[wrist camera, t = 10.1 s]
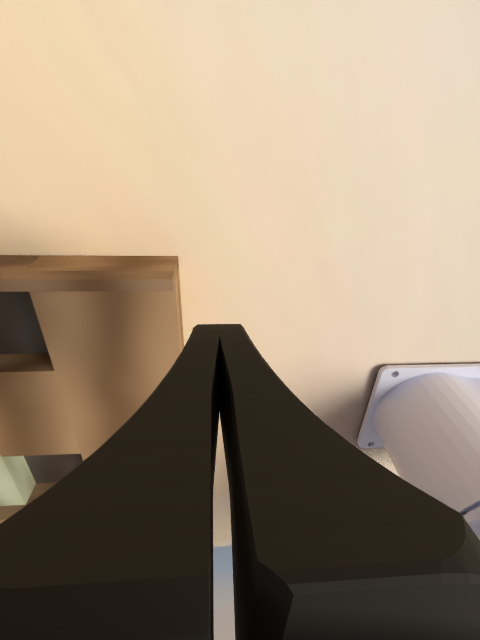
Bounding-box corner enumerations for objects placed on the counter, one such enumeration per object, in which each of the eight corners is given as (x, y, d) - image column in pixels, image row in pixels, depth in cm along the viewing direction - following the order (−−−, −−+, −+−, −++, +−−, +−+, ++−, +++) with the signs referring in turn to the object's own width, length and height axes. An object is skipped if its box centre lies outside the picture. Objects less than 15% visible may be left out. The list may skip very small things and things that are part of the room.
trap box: (177, 256, 18) (168, 294, 14) (192, 477, 28) (189, 535, 24) (-245, 254, 16) (-385, 295, 13) (-73, 489, 26) (-122, 553, 22)
